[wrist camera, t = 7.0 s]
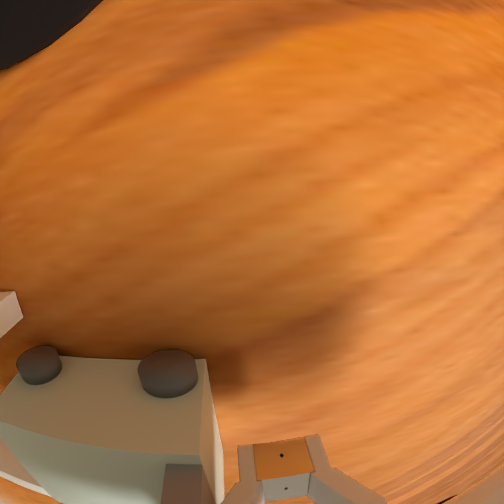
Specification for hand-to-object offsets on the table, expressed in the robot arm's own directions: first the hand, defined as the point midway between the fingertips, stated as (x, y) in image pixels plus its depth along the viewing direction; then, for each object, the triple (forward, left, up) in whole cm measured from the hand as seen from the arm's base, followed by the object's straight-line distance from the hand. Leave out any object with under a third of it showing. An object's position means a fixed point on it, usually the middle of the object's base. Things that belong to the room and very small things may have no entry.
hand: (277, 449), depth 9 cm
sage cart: (0, +6, -3) cm, 7 cm away
